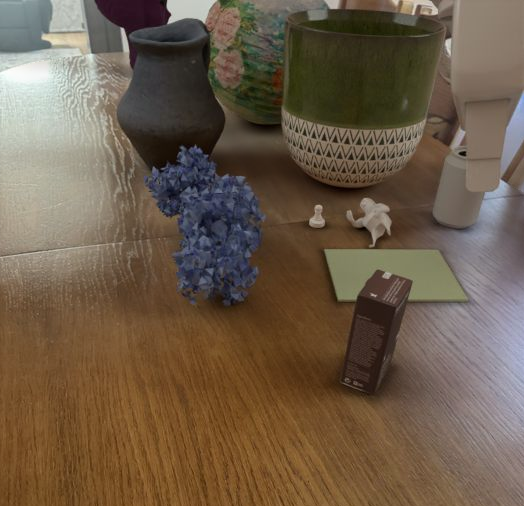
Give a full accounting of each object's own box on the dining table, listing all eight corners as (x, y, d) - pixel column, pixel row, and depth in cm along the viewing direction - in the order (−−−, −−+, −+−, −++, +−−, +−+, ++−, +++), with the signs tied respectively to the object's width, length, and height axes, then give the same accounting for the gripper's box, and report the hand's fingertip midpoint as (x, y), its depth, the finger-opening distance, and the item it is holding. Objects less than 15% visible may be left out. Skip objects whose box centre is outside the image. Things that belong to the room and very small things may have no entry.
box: (376, 397, 61) (396, 306, 54) (338, 383, 63) (353, 293, 55) (393, 366, 66) (414, 278, 58) (357, 354, 67) (373, 266, 60)
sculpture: (179, 79, 166) (172, -45, 147) (102, 81, 161) (84, -46, 142) (170, 65, 179) (162, -51, 160) (98, 67, 174) (81, -52, 155)
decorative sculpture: (283, 224, 64) (231, 120, 85) (154, 250, 62) (133, 136, 83) (287, 318, 74) (240, 204, 95) (177, 342, 72) (154, 221, 93)
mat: (438, 251, 88) (438, 249, 88) (467, 301, 77) (468, 299, 77) (324, 251, 87) (324, 248, 86) (337, 301, 76) (338, 299, 76)
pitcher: (101, 172, 108) (78, 25, 93) (166, 140, 124) (157, 9, 108) (190, 195, 101) (182, 40, 86) (248, 159, 117) (250, 21, 101)
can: (440, 207, 101) (457, 139, 93) (481, 219, 97) (502, 150, 90) (424, 222, 96) (440, 151, 88) (467, 234, 93) (487, 163, 85)
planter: (298, 212, 97) (311, 37, 80) (263, 158, 117) (267, 8, 100) (438, 202, 102) (478, 35, 85) (381, 151, 122) (405, 8, 106)
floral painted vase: (339, 109, 147) (354, -29, 128) (328, 151, 122) (346, -13, 103) (219, 98, 151) (217, -36, 132) (185, 137, 125) (176, -23, 107)
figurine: (348, 237, 87) (336, 203, 96) (378, 257, 89) (364, 222, 98) (375, 208, 84) (360, 175, 93) (405, 229, 86) (388, 196, 95)
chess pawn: (308, 221, 95) (309, 201, 92) (323, 221, 95) (325, 201, 93) (310, 228, 93) (312, 208, 90) (325, 228, 93) (328, 208, 91)
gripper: (588, -168, 23) (555, 189, 26) (538, -6, 41) (522, 190, 45) (425, -130, 25) (415, 195, 28) (447, 7, 43) (440, 193, 47)
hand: (481, 192), depth 37 cm, fingers open, 8 cm apart
